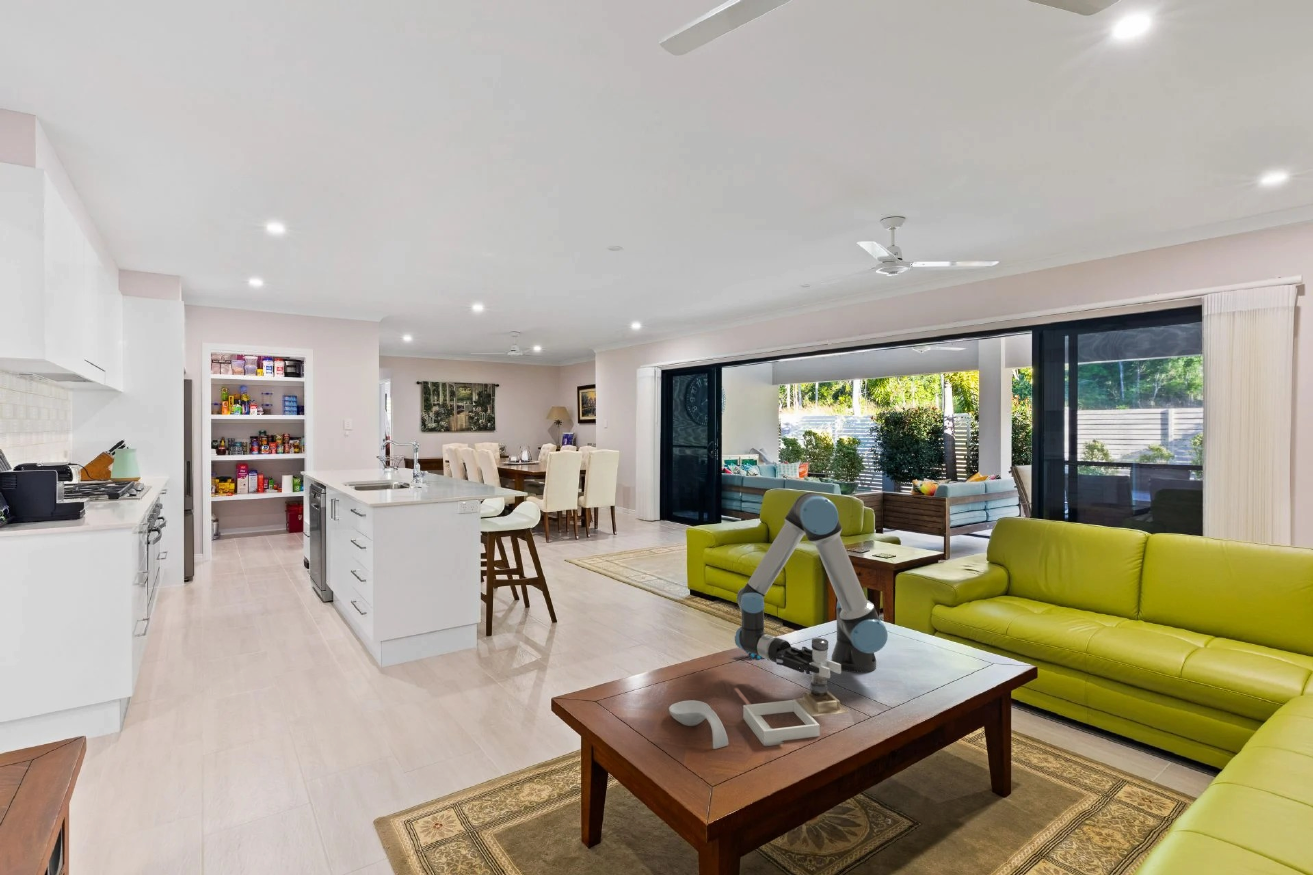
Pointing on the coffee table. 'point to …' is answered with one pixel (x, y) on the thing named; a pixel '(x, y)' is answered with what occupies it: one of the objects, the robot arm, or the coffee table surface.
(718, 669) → the coffee table surface
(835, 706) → the socket block
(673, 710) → the spoon rest
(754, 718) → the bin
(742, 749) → the coffee table surface
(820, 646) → the capped clear cylinder
